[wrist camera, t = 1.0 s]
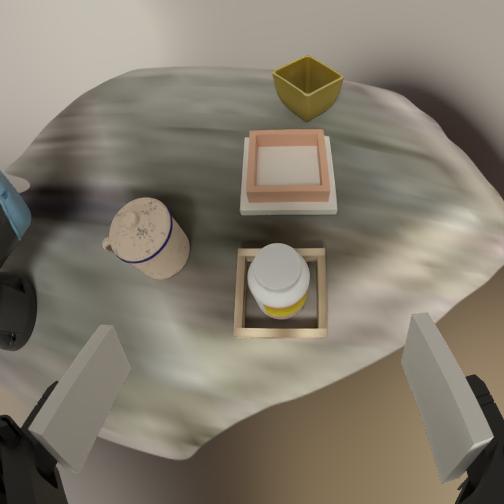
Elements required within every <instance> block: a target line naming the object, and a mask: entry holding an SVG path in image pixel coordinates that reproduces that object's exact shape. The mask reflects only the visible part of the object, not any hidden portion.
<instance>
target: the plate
mask: <svg viewBox="0 0 504 504" xmlns="http://www.w3.org/2000/svg"><path fill="white" fill-rule="evenodd" d="M240 212H241V215H336V213H337V200H336V190H335V180H334V172H333V163H332V155H331V147H330V140H329V136H324V131H323V129H288V130H256V131H250V135H249V137H247V138H245V143H244V157H243V171H242V186H241V202H240Z"/></svg>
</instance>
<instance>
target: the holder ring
mask: <svg viewBox="0 0 504 504" xmlns="http://www.w3.org/2000/svg"><path fill="white" fill-rule="evenodd" d="M293 249H294V250H295V251H296V252H297V253H299V254H300V255H301V256H302V257H303V259H304V260H305V261H306V262H316V271H317V329H266V328H245V309H246V287H247V265H248V262H252V261H253V259H254V258H255V256H256V254H257V253H258V252H259V251H260V250H261V249H238V258H237V276H236V294H235V313H234V333H233V336H235V337H243V338H326V337H327V298H326V263H325V248H293Z"/></svg>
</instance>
